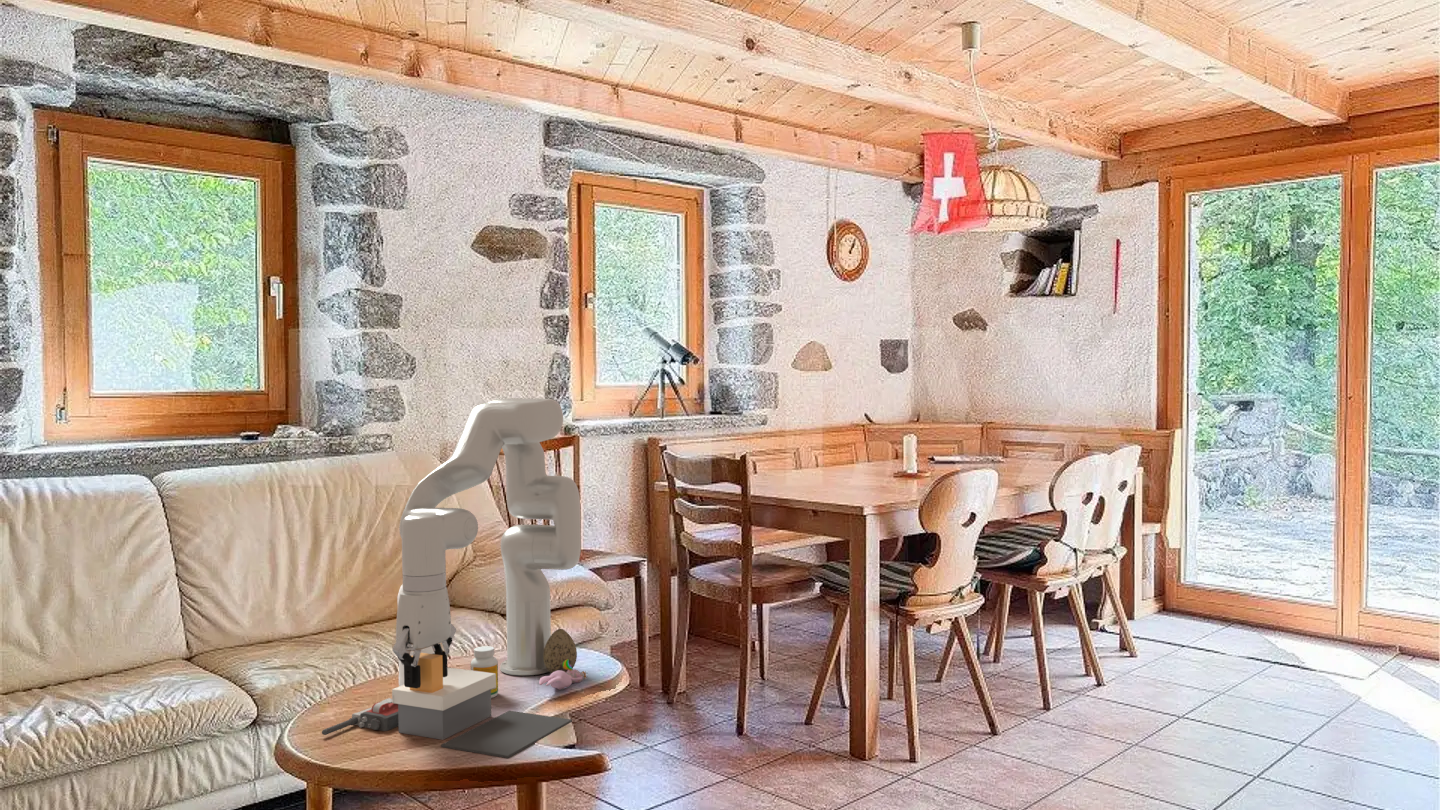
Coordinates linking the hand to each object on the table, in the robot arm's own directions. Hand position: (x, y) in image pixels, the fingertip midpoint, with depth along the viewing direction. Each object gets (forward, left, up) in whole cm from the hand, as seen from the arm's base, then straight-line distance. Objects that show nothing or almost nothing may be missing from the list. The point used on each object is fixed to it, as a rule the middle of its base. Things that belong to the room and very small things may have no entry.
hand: (426, 680), depth 189 cm
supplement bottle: (-22, -4, -10) cm, 25 cm away
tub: (-5, 0, -9) cm, 11 cm away
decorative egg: (-40, +2, -10) cm, 41 cm away
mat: (-5, +14, -9) cm, 18 cm away
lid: (-5, 0, -4) cm, 7 cm away
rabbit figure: (-33, +8, -10) cm, 35 cm away
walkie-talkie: (-1, -12, -10) cm, 16 cm away
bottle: (-20, -19, -10) cm, 29 cm away
